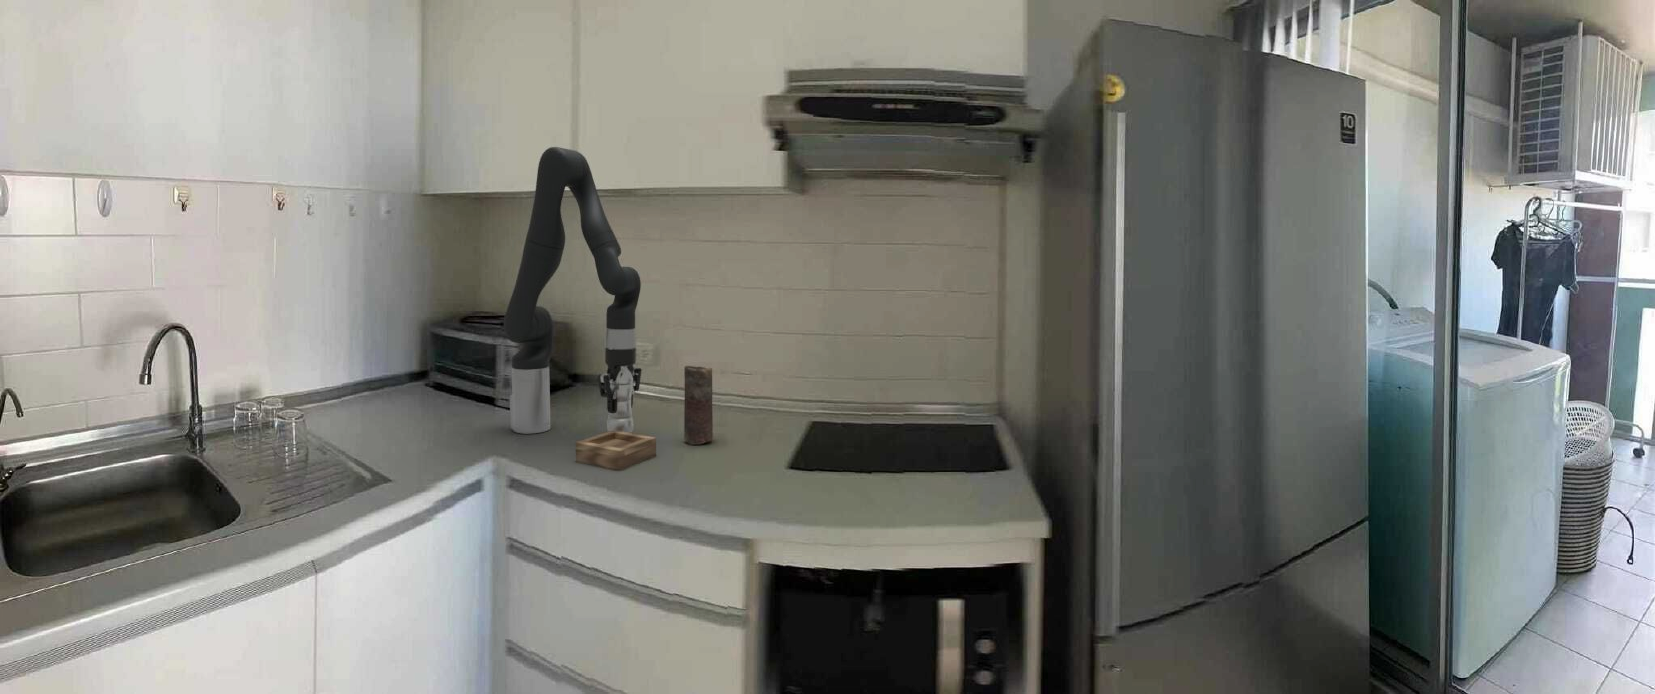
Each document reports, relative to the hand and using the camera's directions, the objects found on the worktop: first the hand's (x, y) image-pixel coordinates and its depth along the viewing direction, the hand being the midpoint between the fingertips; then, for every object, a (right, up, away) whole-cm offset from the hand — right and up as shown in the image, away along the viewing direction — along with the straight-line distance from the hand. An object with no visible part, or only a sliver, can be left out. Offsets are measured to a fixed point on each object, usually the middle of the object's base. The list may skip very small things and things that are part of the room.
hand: (620, 410), depth 180 cm
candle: (+20, -9, +3) cm, 22 cm away
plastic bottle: (0, -7, +1) cm, 7 cm away
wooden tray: (+3, -10, -13) cm, 17 cm away
